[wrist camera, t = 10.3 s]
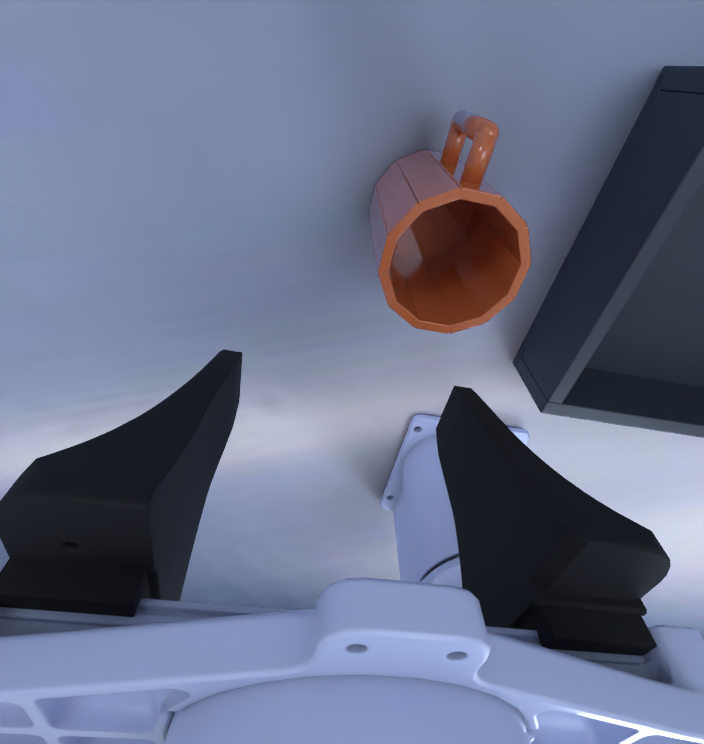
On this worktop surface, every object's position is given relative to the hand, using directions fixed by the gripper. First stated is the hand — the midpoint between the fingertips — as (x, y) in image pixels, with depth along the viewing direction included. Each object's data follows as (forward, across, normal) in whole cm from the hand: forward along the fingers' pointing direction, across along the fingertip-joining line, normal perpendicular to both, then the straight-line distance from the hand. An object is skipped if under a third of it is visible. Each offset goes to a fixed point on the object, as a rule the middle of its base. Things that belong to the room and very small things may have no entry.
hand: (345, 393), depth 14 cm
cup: (+9, -3, -4) cm, 11 cm away
